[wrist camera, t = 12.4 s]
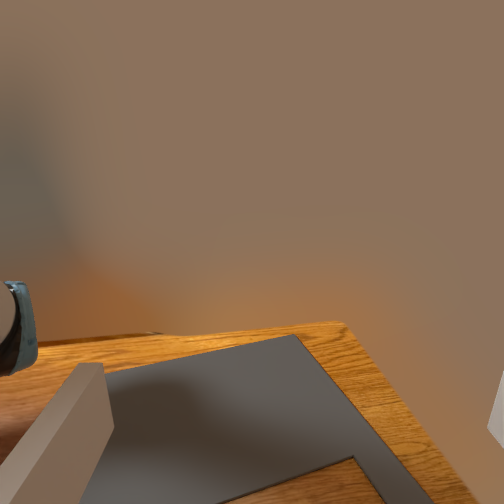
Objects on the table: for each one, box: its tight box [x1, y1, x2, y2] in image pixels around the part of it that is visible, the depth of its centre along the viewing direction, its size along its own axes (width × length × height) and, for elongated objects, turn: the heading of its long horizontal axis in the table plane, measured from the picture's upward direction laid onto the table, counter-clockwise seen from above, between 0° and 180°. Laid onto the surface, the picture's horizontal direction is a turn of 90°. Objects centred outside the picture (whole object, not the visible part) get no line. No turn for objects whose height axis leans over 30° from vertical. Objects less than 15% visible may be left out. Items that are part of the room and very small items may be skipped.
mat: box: [78, 334, 434, 504], centre depth 42 cm, size 50×41×1 cm
